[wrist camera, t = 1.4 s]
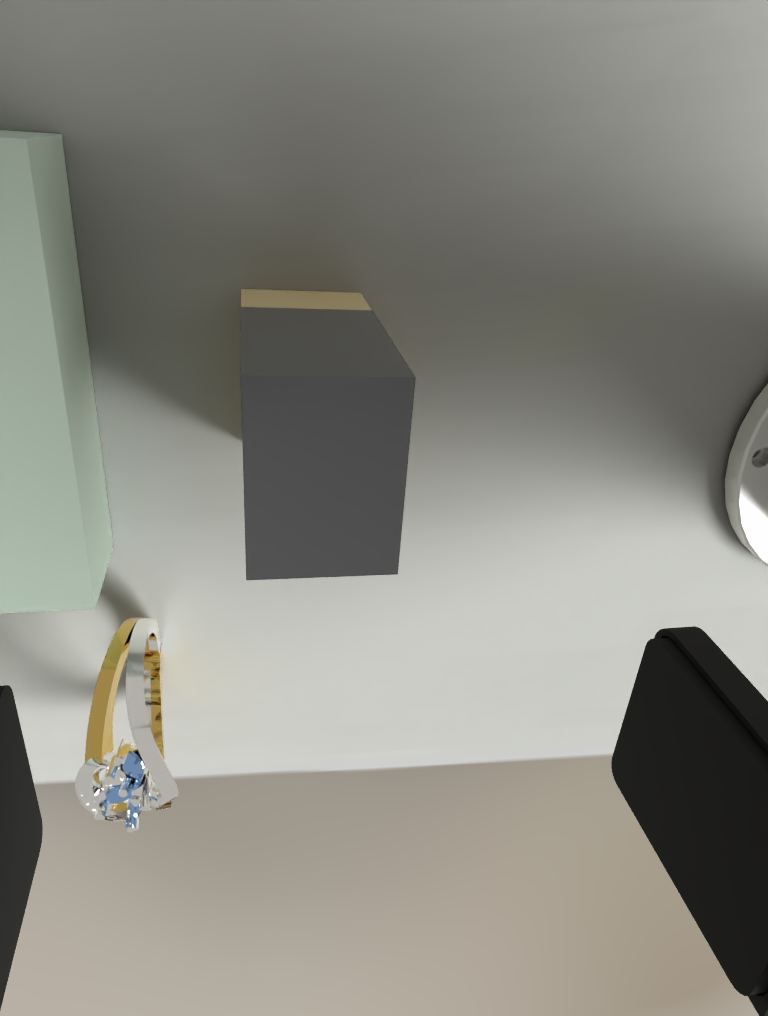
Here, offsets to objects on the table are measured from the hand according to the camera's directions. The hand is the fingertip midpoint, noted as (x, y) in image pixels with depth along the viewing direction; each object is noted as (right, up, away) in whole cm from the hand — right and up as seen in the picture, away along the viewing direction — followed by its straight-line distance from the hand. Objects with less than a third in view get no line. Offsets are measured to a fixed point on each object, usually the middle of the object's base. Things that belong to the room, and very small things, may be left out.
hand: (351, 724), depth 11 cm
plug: (-2, +8, +15) cm, 17 cm away
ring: (-9, -3, +20) cm, 22 cm away
